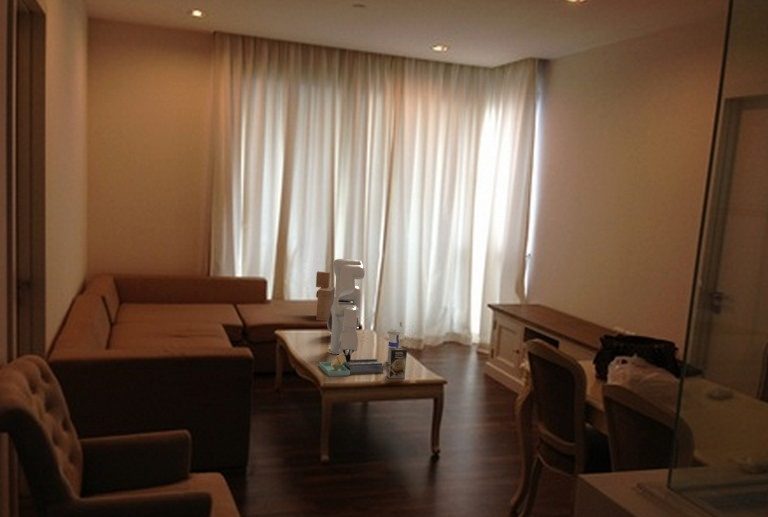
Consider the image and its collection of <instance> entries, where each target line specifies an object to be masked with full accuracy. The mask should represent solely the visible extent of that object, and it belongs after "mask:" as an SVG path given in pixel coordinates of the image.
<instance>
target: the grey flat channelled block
mask: <svg viewBox="0 0 768 517" xmlns="http://www.w3.org/2000/svg"><path fill="white" fill-rule="evenodd" d="M342 365H344V366H345V367H346V368H347V369H348V370H349V371H350V375H356V373H361V374H375V373H374V372H383V373H384V365H383V362H379V361H378V358H356V359H355V358H352V359H350V362H344V363H342Z"/></svg>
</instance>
